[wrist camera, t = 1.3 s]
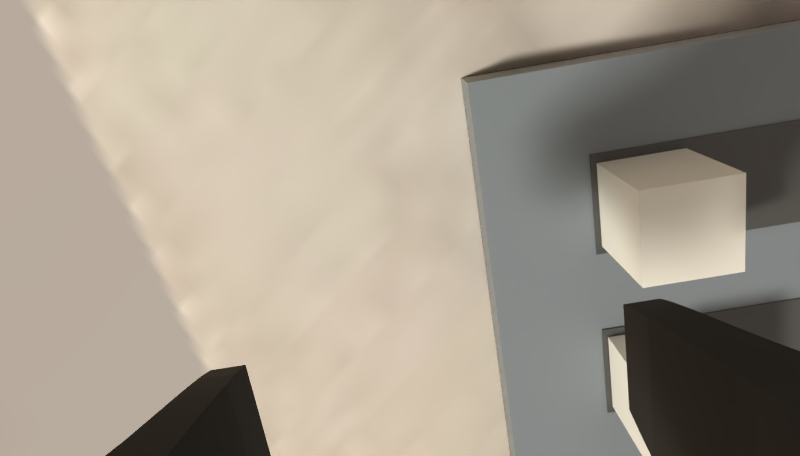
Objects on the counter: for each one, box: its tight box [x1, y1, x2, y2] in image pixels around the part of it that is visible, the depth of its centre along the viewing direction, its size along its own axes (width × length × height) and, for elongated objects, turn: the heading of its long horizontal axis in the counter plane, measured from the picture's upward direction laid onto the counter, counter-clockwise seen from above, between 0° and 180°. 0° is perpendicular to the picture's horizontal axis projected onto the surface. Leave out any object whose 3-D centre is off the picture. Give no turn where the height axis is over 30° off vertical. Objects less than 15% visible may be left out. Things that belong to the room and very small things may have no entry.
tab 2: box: [597, 148, 746, 288], centre depth 16 cm, size 2×2×3 cm
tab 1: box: [608, 335, 651, 456], centre depth 18 cm, size 2×2×3 cm
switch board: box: [461, 20, 800, 456], centre depth 20 cm, size 19×16×2 cm
